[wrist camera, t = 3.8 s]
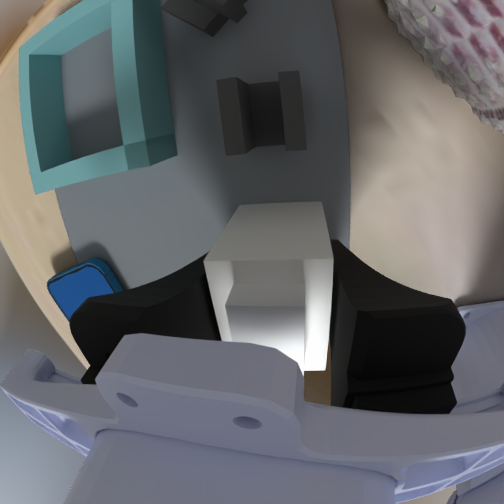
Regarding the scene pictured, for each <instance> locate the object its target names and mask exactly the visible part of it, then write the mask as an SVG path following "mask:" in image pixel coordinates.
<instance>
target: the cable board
mask: <svg viewBox="0 0 504 504" xmlns="http://www.w3.org/2000/svg"><path fill="white" fill-rule="evenodd" d="M19 94H20V108H21V119H22V128H23V135H24V142H25V148H26V154H27V160H28V165H29V170H30V175H31V179H32V183H33V188H34V192H35V195H36V194H39V193H42V192H46V191H49V190H52V189H55V193H56V196H57V200H58V204H59V208H60V211H61V215H62V218H63V221H64V225H65V228H66V231H67V234H68V237H69V240H70V243H71V246H72V249H73V252H74V254H75V257H76V260H77V263H78V264H80V263H82V262H84V261H87V260H89V259H91V258H99V259H101V260H103V261H104V262H105V263H106V264H107V265H108V266H109V267H110V269H111V270H112V272H113V274H114V275H115V277H116V279H117V280H118V282H119V283H120V285H121V287H122V288H123V290H128V289H132V288H135V287H139V286H142V285H144V284H147V283H150V282H152V281H155V280H158V279H160V278H163V277H165V276H167V275H169V274H171V273H173V272H175V271H177V270H179V269H181V268H183V267H184V266H186V265H188V264H190V263H191V262H193V261H195V260H196V259H198V258H200V257H201V256H203V255H204V254H206V253H207V252H209V251H210V250H211V248H212V247H213V245H214V243H215V242H216V240H217V239H218V237H219V236H220V234H221V233H222V231H223V230H224V228H225V226H226V225H227V223H228V222H229V220H230V219H231V217H232V216H233V214H234V213H235V211H236V210H237V208H238V207H239V205H244V204H262V203H284V202H313V201H322V205H323V210H324V214H325V219H326V223H327V228H328V233H329V238H330V239H338V240H339V241H340V242H341V243H342V244H343V245H344V246H345V247H346V248H348V249H349V239H350V148H349V128H348V114H347V102H346V91H345V82H344V73H343V65H342V58H341V51H340V44H339V38H338V32H337V26H336V21H335V16H334V11H333V6H332V1H331V0H83V1H81V2H80V3H78V4H77V5H75V6H74V7H72V8H70V9H69V10H67V11H66V12H65V13H63V14H62V15H60V16H59V17H57V18H56V19H55V20H53V21H52V22H50V23H49V24H48V25H47V26H45V27H44V28H43V29H41V30H40V31H39V32H38V33H36V34H35V35H34V36H33V37H31V38H30V39H29V40H28V41H27V42H26V43H24V44H23V45H22V46H21V47H20V48H19Z"/></svg>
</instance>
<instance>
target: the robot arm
mask: <svg viewBox="0 0 504 504" xmlns="http://www.w3.org/2000/svg"><path fill="white" fill-rule="evenodd" d="M330 243H331V248H332V253H333V258H334V259H333V284H332V301H331V316H330V328H329V338H330V347H331V406H330V405H323V404H317V403H312V402H306V401H305V398H304V376H303V374H302V372H301V369H300V367H299V364H298V362H296V361H295V360H293V359H292V358H290V357H288V356H287V355H285V354H284V353H282V352H281V351H279V350H278V349H276V348H272V347H267V346H262V345H258V344H253V343H246V342H227V341H222V339H221V335H220V331H219V327H218V323H217V319H216V315H215V311H214V306H213V302H212V298H211V293H210V289H209V284H208V280H207V275H206V271H205V266H204V259H205V258H206V256H207V254H208V253H209V252H207V253H206V254H204V255H203V256H201V257H200V258H198V259H196V260H195V261H193V262H191V263H190V264H188V265H186V266H184V267H183V268H181V269H179V270H177V271H175V272H173V273H171V274H169V275H167V276H165V277H163V278H160V279H158V280H155V281H152V282H150V283H147V284H144V285H142V286H139V287H135V288H132V289H128V290H124V291H120V292H116V293H112V294H106V295H100V296H94V297H88V298H87V299H86V300H85V301H84V302H83V303H82V304H81V305H80V306H79V307H78V309H77V310H76V311H75V312H74V313H73V314H72V316H71V317H70V324H69V325H70V329H71V333H72V335H73V338H74V340H75V341H76V343H77V345H78V347H79V348H80V350H81V351H82V353H83V355H84V356H85V358H86V359H87V361H88V363H89V364H90V365H91V366H90V367H89V368H88V370H87V371H86V373H85V374H84V376H83V377H82V379H80V378H78V377H75V376H72V375H70V374H67V373H64V372H62V371H59V370H57V369H55V367H54V365H53V363H52V362H51V360H50V359H49V358H48V357H47V356H46V355H45V354H43V353H41V352H39V351H36V350H34V349H32V348H29V349H28V350H27V351H26V353H25V354H24V355H23V356H22V357H21V359H20V360H19V361H18V362H17V364H16V365H15V366H14V367H13V368H12V370H11V371H10V372H9V374H8V375H7V376H6V377H5V379H4V380H3V381H2V383H1V384H0V387H1V388H2V390H3V391H4V392H5V393H6V394H7V395H8V397H9V398H10V399H11V400H12V401H13V402H14V403H15V404H16V405H17V406H18V408H20V409H21V411H22V412H23V413H24V414H25V415H26V416H27V417H28V418H29V419H30V420H31V421H32V422H33V423H34V424H36V425H38V426H39V427H41V428H42V429H43V430H45V431H47V432H48V433H49V434H51V435H52V436H54V437H55V438H57V439H59V440H60V441H62V442H63V443H65V444H66V445H68V446H69V447H71V448H73V449H74V450H76V451H78V452H79V453H81V454H83V455H84V456H86V459H85V461H84V463H83V465H82V467H81V469H80V471H79V473H78V475H77V477H76V479H75V481H74V483H73V485H72V487H71V489H70V491H69V493H68V496H67V498H66V500H65V502H64V504H397V503H401V502H405V501H408V500H412V499H416V498H419V497H422V496H426V495H428V494H432V493H435V492H438V491H441V490H443V489H446V488H449V487H451V486H454V485H456V488H457V489H456V491H454V492H453V494H452V495H451V496H450V498H449V500H448V502H447V504H504V300H503V301H497V302H490V303H483V304H475V305H467V306H460V307H458V308H456V306H455V304H454V303H453V301H452V300H451V299H448V298H444V297H440V296H435V295H431V294H427V293H424V292H421V291H417V290H414V289H412V288H409V287H406V286H404V285H402V284H400V283H397V282H395V281H393V280H391V279H389V278H387V277H385V276H384V275H382V274H380V273H379V272H377V271H375V270H374V269H372V268H371V267H369V266H368V265H367V264H365V263H364V262H363V261H361V260H360V259H359V258H358V257H357V256H355V255H354V254H353V253H352V252H351V251H350V250H349V249H348V248H346V247H345V246H344V245H343V244H342V243H341V242H340V241H339V240H338V239H330Z"/></svg>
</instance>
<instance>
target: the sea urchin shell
mask: <svg viewBox="0 0 504 504" xmlns="http://www.w3.org/2000/svg"><path fill="white" fill-rule="evenodd" d="M384 1H385V3H386V5H387V7H388V17H389V18H390V19H391V20H393V21H394V22H395V23H396V24H397V28H398V33H399V34H401V35H402V36H404V37H406V38H407V39H408V40H410V41H411V42H412V45H413V48H414V49H415V50H416V51H417V52H418V53H419V54H420V55H421V56H422V57H423V62H424V65H426V66H428V67H430V68H432V70H433V72H434V74H435V76H436V78H437V79H440V80H442V82H443V83H444V84H447V85H449V86H450V87H452V89H453V92H454V94H455V96H456V97H458V98H463V99H465V100H466V101H467V102H468V103H469V104H470V105H471V107H472V110H473V114H476V115H478V117H479V119H480V122H481V124H488V125H492V126H493V128H494V129H495V130H500V131H501V132H502V134H503V135H504V0H384Z"/></svg>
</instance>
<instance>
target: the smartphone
mask: <svg viewBox="0 0 504 504" xmlns="http://www.w3.org/2000/svg"><path fill="white" fill-rule="evenodd" d="M47 289H48V291H49V293H50V295H51V296H52V298H53V299H54V301H55V302H56V304H57V305H58V307H59V308H60V310H61V311H62V313H63V314H64V316H65V317H66V318H67V320H68V321H69V322H70V317H71V316H72V314H73V313H74V312H75V311H76V310H77V309H78V307H79V306H80V305H81V304H82V303H83V302H84V301H85V300H86V299H87V298H88V297H94V296H100V295H106V294H112V293H116V292H120V291H124V290H123V288H122V287H121V285H120V283H119V282H118V280H117V279H116V277H115V275H114V274H113V272H112V270H111V269H110V267H109V266H108V265H107V264H106V263H105V262H104V261H103V260H101V259H99V258H91V259H89V260H87V261H84V262H82V263H80V264H78V265H76V266H74V267H71V268H69V269H67V270H65V271H63V272H61V273H59V274H56V275H54V276H53V277H52V278H51V279H49V280H48V282H47Z"/></svg>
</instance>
